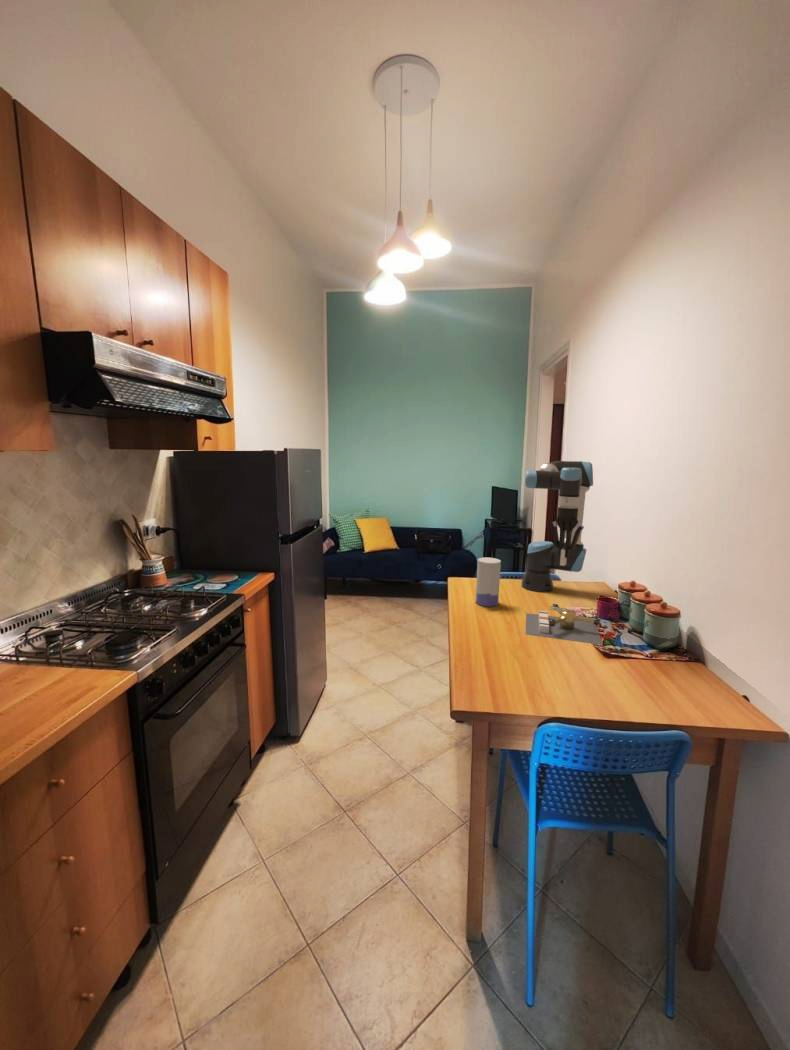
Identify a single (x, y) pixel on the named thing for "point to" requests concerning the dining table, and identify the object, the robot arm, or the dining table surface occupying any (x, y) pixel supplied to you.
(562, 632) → the stand
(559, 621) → the gold quadcopter drone
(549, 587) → the robot arm
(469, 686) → the dining table surface
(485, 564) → the container
